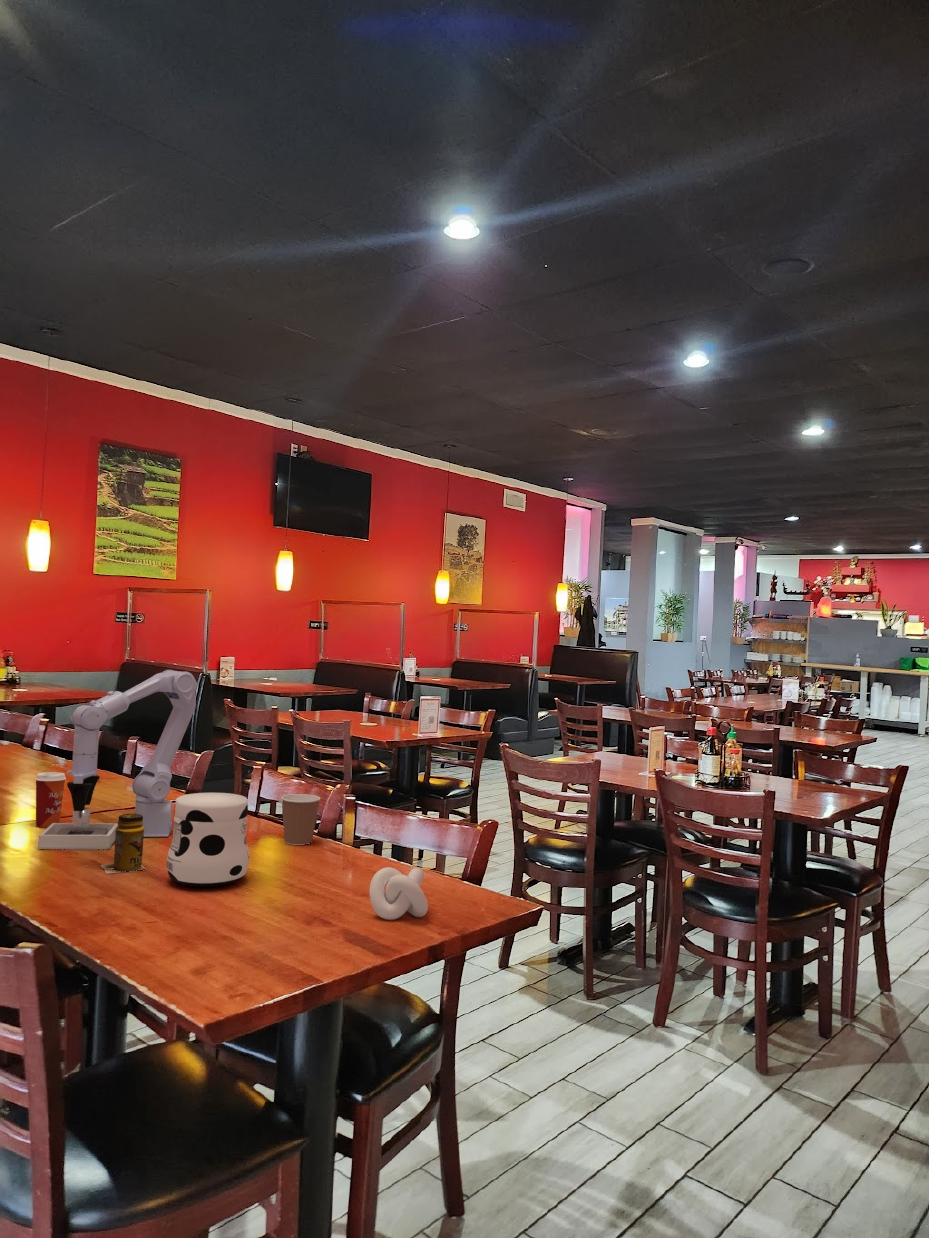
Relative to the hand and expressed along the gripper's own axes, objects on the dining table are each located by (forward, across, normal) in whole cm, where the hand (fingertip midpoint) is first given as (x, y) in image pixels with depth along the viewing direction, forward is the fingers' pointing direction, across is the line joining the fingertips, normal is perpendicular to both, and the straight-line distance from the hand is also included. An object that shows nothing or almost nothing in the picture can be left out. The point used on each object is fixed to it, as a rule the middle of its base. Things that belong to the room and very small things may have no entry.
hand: (82, 807), depth 214 cm
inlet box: (+9, 0, 0) cm, 9 cm away
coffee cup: (+9, 0, +54) cm, 55 cm away
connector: (+8, 0, 0) cm, 8 cm away
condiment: (+9, +24, +14) cm, 29 cm away
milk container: (+9, +35, +33) cm, 49 cm away
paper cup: (+9, -20, -12) cm, 25 cm away
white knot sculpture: (+9, +61, +71) cm, 94 cm away
